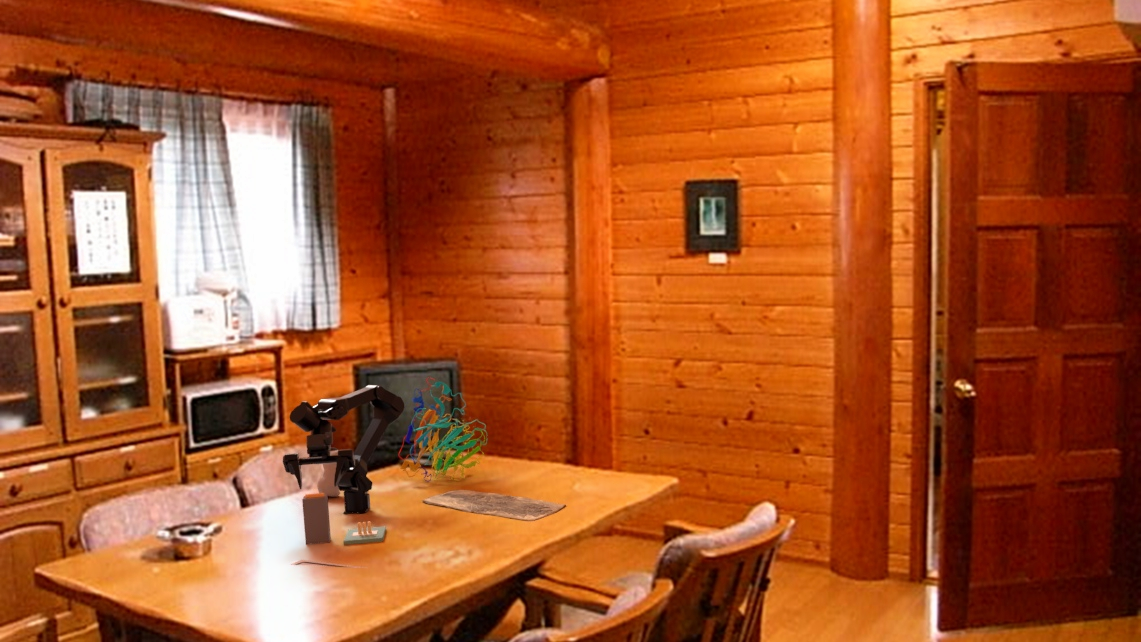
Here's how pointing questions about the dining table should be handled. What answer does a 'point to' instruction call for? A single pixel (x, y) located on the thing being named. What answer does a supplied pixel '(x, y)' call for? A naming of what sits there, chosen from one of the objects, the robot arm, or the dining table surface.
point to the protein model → (435, 440)
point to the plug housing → (316, 518)
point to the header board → (365, 534)
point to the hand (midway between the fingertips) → (317, 487)
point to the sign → (321, 564)
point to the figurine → (329, 478)
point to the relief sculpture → (495, 504)
